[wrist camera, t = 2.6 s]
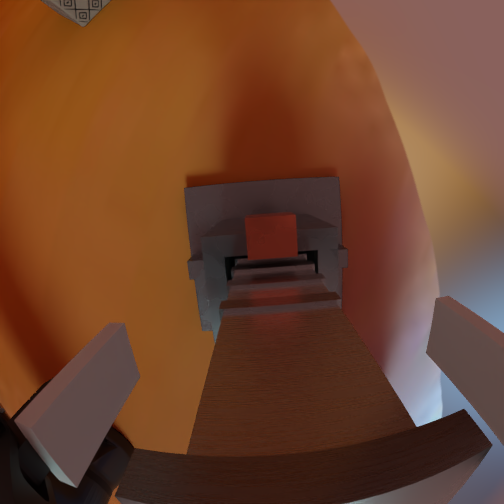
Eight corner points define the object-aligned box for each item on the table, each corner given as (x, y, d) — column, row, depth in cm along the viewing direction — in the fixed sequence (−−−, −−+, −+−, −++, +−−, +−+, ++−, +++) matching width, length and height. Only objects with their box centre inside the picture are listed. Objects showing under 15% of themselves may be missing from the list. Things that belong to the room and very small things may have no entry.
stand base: (204, 326, 29) (172, 411, 16) (186, 188, 26) (126, 186, 13) (338, 316, 28) (385, 393, 15) (336, 177, 25) (401, 167, 13)
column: (241, 290, 26) (199, 571, 3) (236, 233, 25) (115, 495, 2) (298, 286, 26) (397, 549, 3) (295, 228, 25) (492, 444, 2)
